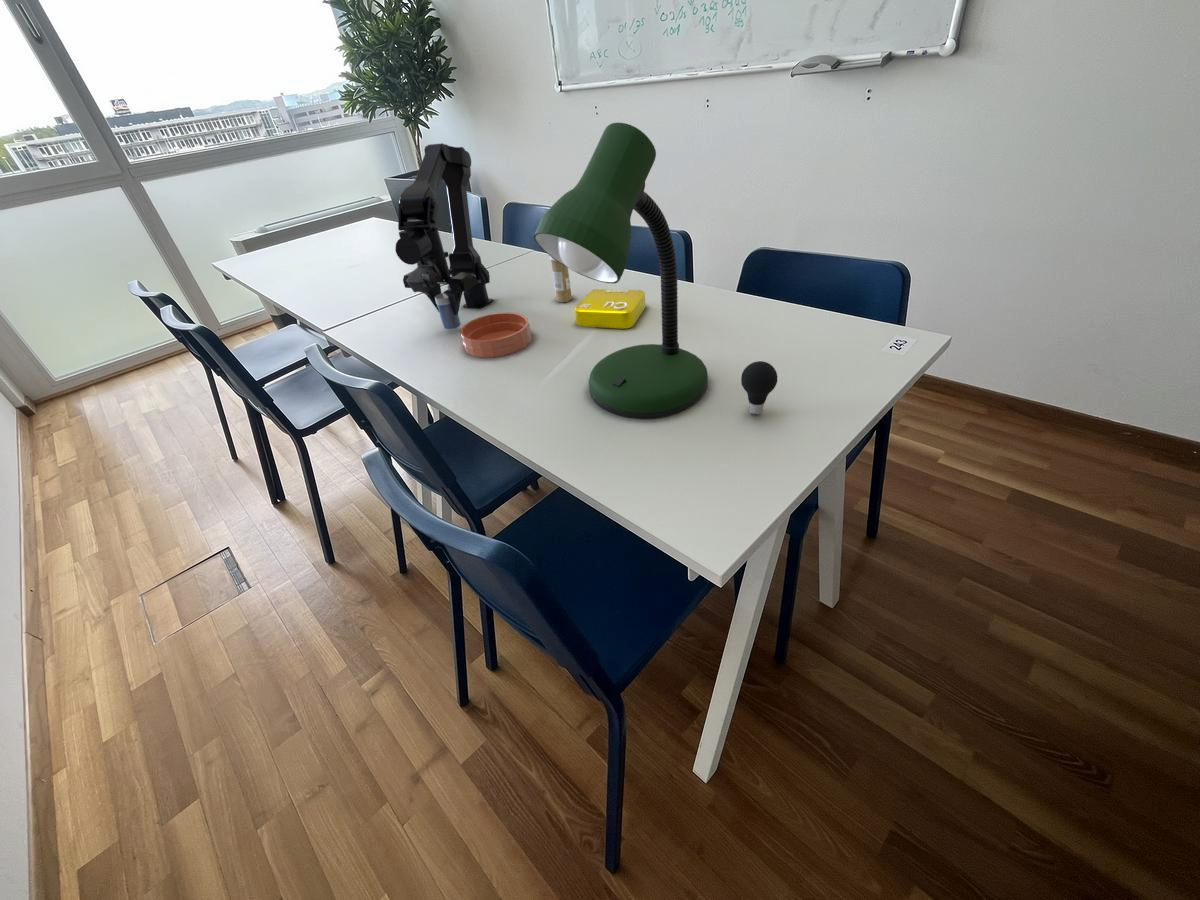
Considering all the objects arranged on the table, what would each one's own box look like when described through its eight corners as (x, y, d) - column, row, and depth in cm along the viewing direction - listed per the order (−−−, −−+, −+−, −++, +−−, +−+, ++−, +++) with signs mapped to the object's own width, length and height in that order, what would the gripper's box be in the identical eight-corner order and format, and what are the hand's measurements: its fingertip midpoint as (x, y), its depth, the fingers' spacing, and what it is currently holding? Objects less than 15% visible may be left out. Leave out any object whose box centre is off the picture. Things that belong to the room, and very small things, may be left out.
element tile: (647, 305, 135) (646, 287, 132) (631, 329, 124) (630, 310, 121) (593, 303, 140) (592, 286, 137) (574, 326, 129) (571, 308, 126)
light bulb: (734, 407, 93) (737, 357, 87) (766, 403, 93) (771, 353, 87) (744, 425, 88) (748, 373, 82) (777, 420, 88) (784, 369, 82)
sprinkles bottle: (575, 299, 144) (569, 250, 135) (561, 304, 142) (554, 254, 134) (567, 295, 147) (560, 247, 139) (553, 299, 145) (545, 251, 137)
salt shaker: (450, 321, 135) (442, 291, 130) (464, 322, 133) (456, 292, 128) (439, 328, 131) (430, 298, 127) (454, 330, 130) (445, 299, 125)
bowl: (490, 326, 134) (486, 310, 131) (543, 332, 128) (540, 315, 125) (451, 354, 122) (446, 337, 120) (508, 362, 116) (504, 344, 114)
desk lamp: (624, 456, 84) (597, 141, 57) (536, 412, 98) (481, 140, 71) (729, 379, 101) (746, 105, 74) (641, 350, 114) (629, 110, 87)
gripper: (377, 260, 119) (399, 323, 128) (440, 263, 112) (459, 330, 121) (409, 245, 127) (428, 306, 136) (470, 248, 120) (486, 311, 129)
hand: (449, 313), depth 130 cm, fingers closed on salt shaker, 4 cm apart
